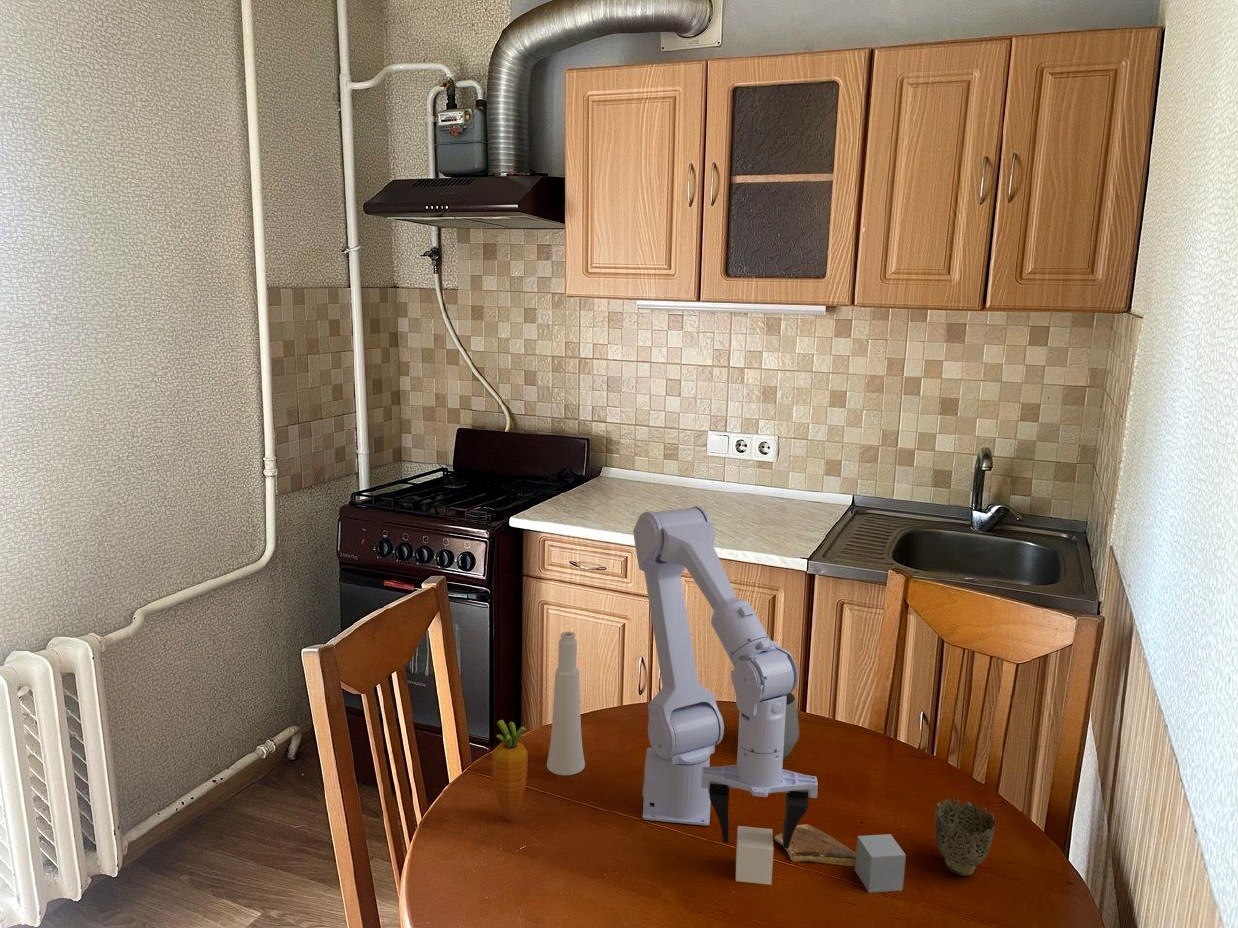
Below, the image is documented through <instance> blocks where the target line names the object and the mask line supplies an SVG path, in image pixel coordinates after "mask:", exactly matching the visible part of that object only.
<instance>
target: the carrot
mask: <svg viewBox="0 0 1238 928" xmlns="http://www.w3.org/2000/svg"><path fill="white" fill-rule="evenodd" d="M496 724H497V727H498V728H499V729H500V731H501V733H502V734H503V735H502V734H501V733H499V734H496V738H498V739H499V741H501V742H500V743H499V744H497V746H496V747H495V748H494V749H493V750H492V752H491V764H492V766H491V769H492V782H493V787H494V792H495V795H496V800H497V802H498V805H499V807H500V810H501V811H502V813H503V816H504V817H505V819H506V820H507V821H509V822H510V821H512V820H513V819H514V818H515V816H516V814H517V813H518V811H519V809H520V807H521V804H522V801H523V799H524V795H525V791H526V785H527V780H528V779H527V777H528V759H529V754H528V750H527V749H526V748H525V746H524V744H522V743H521V742H519V741H520V739H521V738H522V736H523V734H524V733H525V732H526V729H527V728H526V727H524V726H521V727H519V729H518V730H517V729H516V724H515V722H513V721H510V722H508V726H509V728H508V726H507V724H506V723H505V721H504V719H500V720H498V721H497V722H496ZM509 730H510V731H509Z"/></svg>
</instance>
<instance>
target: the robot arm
mask: <svg viewBox="0 0 1238 928" xmlns="http://www.w3.org/2000/svg"><path fill="white" fill-rule="evenodd" d="M715 529H716V528H715V526H714V524H712V520H711V517H710V515H709V514H708V512H707V510H705V509H704V508H703V507H702V506H699V505H698V506H697V505H695V506H691V507H688V508H678V509H671V510H661V511H653V512H652V511H644V512H642V513H641V514H640V515H639V517H638V518H637V521H636V524H635V526H634V528H633V530H632V533H633V540H634V546H635V551H636V560H637V565H638V570H640V571H642V572H643V573H644V579H645V585H646V591H647V597H648V604H649V611H650V616H651V617H650V618H651V624H652V630H653V636H654V642H655V647H656V654H657V659H658V660H657V661H658V667H659V673H660V679H661V680H660V681H661V686H662V687H661V689H659V691H658V692H657V694H656V695H655V696H654V697H653V698H652V700H650V702H649V703H648V705H647V709H648V725H647V735H648V741H649V744H650V746H651V747H647V749H646V754H645V761H644V772H643V773H644V776H643V786H642V795H641V796H642V798H643V805H642V807H643V809H642V819H643V820H644V821H645V820H647V821H653V822H654V821H656V822H664V823H666V822H667V823H675V824H677V823H678V824H687V825H697V826H709V825H710V820H711V818H710V817H711V806H712V808H713V810H714V811H715V814H716V816H717V819H718V822H719V825H720V829H721V835H722V842H723V843H725V844H726V843H729V834H730V833H729V831H730V830H729V828H730V827H729V823H730V821H729V807H730V803H729V801H730V789H739V790H743V791H747V792H750V794H751V796H753V797H761V798H766V797H768V796H769V794H773V793H785V813H784V822H783V828H782V832H783V846H782V847H783V849H785V848H787V849H788V848H789V845H790V841H791V838H792V835H793V832H794V830H795V828H796V826H797V825H799V823H800V821H801V819H802V818H803V816H804V815H805V814H806V813H807V811H808V807H809V799H808V798H812V799H817V798H818V778H817V776H816V775H815V776H813V775H808V774H804V773H800V772H795V771H792V770H788V769H783V765H784V763H783V761H784V759H783V749H784V733H785V716H786V699H787V696H784V695H786V694H788V693H792V692H794V691H795V689H796V688H797V686H798V682H799V681H798V680H799V674H798V673H799V672H798V667H797V665H796V662H795V659H794V658H793V655H792V654H791V653H790V651H789V650H787V649H786V648H784V647H782V646H780V645H779V644H778V642H777V641H775V640H772V639H771V638H770V635H768V633H767V631H766V629H765V627H764V626H763V624H762V622H761V621H760V619H759V617H758V615H757V613H756V612H755V610H754V608H753V607H752V605H751V603H750V602H749V601H747V600H745V599H741V598H738V597H737V595H736V593H735V590H734V588H733V586H732V583H731V581H730V580H729V577H728V576H727V573H726V570H725V568H724V567H723V564H722V562H721V559H720V558H719V556H718V554H717V551H716V549H715V546H714V543H715V538H716V536H715V535H716V530H715ZM685 569H686V570H687V571H688V573H689V575H690V576H691V578H692V579H693V580H694V582H695V585H697V586H698V589H699V590H700V591H701V593H702V594H703V596H704V598H705V599H706V601H707V602H708V604H709V605H710V606H711V608H712V615H711V619H710V624H711V626H712V627H713V630H714V631H715V634H716V636H717V638H718V639H719V642H720V643H721V645H722V647H723V649H724V650H725V652H726V655H727V656H728V658H729V660H730V662H731V664H732V666H733V670H730V677H731V678H730V679H731V684H732V686H733V689H734V693H735V705H736V708H737V710H738V711H739V716H738V719H739V720H738V735H737V736H738V737H737V739H738V740H737V758H736V764H731V765H722V766H710V764H711V763H710V762H711V755H712V754H714V753H715V749H716V746H717V745H719V744H721V741H722V740H723V737H724V734H725V733H724V732H725V724H724V719H723V716H722V713H721V712H720V710H719V708H718V705H717V700H716V696H715V693H714V692H713V691H711V690H710V689H708V688H706V687H705V686H704V685H702V684H700V683H699V679H698V673H697V667H696V666H697V665H696V660H695V655H694V654H695V653H694V648H693V642H692V637H691V635H692V634H691V630H690V624H689V618H688V611H687V606H686V600H685V594H684V587H683V581H682V574H683V572H684V571H685Z"/></svg>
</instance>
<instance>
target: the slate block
mask: <svg viewBox="0 0 1238 928" xmlns="http://www.w3.org/2000/svg"><path fill="white" fill-rule="evenodd" d="M855 852H856V864H855V866H854V871H855V873H856V875H857V876H858V878H859V880H860V881H861V882H862V883H863V885H864V887H865V889H866V891H867V892H868V893H881V892H884V893H885V892H896V891H903V888H904V878H905V871H906V870H905V869H906V859H907V858H906V857H907V855H906V853H905V852H904V851H903V848H901V846H900V845H899V844H898V841H896V840H895V838H894V837H893V835H892V834H891V833H887V834H870V835H867V834H866V835H858V836H857V840H856V850H855Z"/></svg>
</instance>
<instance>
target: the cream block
mask: <svg viewBox="0 0 1238 928" xmlns="http://www.w3.org/2000/svg"><path fill="white" fill-rule="evenodd" d="M736 833H737V834H736V848H735V849H736V851H735V852H736V854H735V882H742V883H743V882H744V883H751V884H752V883H753V884H758V885H759V884H761V885H768V886H769V885H770V886H772V884H773V883H772V881H773V867H774V866H773V865H774V849H775V848H774V837H773V836H774V835H773V828H765V827H763V828H762V827H753V826H752V827H751V826H745V825H737V831H736Z"/></svg>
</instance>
